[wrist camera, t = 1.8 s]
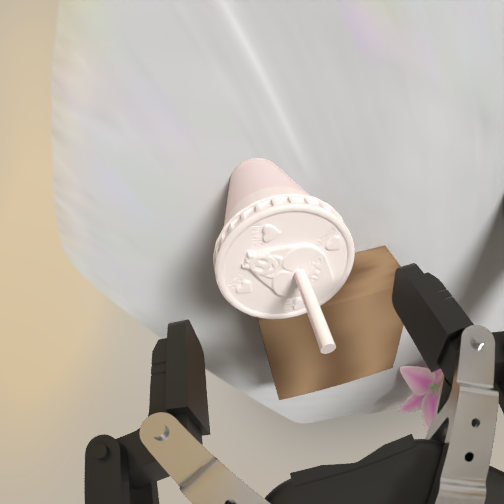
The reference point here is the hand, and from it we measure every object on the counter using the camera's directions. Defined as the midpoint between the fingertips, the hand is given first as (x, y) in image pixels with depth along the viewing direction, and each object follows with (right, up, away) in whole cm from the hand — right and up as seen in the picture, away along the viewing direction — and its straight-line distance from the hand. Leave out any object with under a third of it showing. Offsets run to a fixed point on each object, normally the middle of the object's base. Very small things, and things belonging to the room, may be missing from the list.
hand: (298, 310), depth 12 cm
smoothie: (-1, +7, +10) cm, 13 cm away
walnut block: (+5, -3, +18) cm, 19 cm away
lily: (+24, -15, +29) cm, 41 cm away
